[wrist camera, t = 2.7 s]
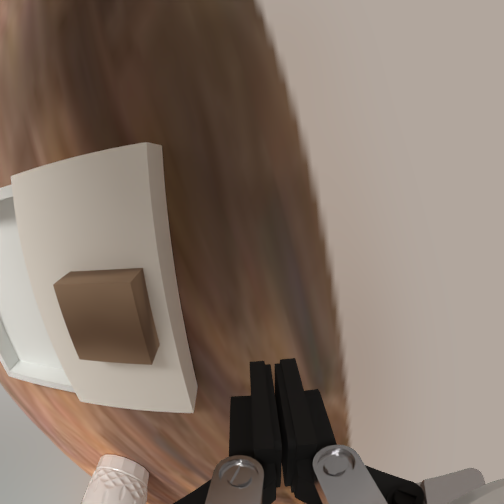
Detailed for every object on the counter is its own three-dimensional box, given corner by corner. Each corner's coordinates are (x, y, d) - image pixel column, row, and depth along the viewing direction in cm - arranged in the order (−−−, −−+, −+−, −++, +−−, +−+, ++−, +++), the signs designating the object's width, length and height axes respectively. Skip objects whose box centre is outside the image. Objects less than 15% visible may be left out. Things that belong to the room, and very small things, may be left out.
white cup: (110, 445, 24) (89, 510, 14) (165, 473, 26) (155, 536, 16) (89, 458, 25) (70, 512, 16) (137, 483, 27) (126, 536, 18)
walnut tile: (70, 271, 14) (52, 284, 12) (142, 267, 14) (130, 282, 13) (91, 341, 16) (79, 359, 14) (159, 344, 16) (152, 364, 14)
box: (-29, 201, 15) (-47, 206, 13) (35, 179, 15) (14, 183, 13) (20, 362, 20) (8, 376, 18) (88, 375, 20) (78, 393, 18)
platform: (37, 172, 15) (10, 176, 12) (161, 145, 15) (146, 141, 13) (92, 379, 21) (80, 401, 18) (197, 386, 21) (193, 413, 18)
